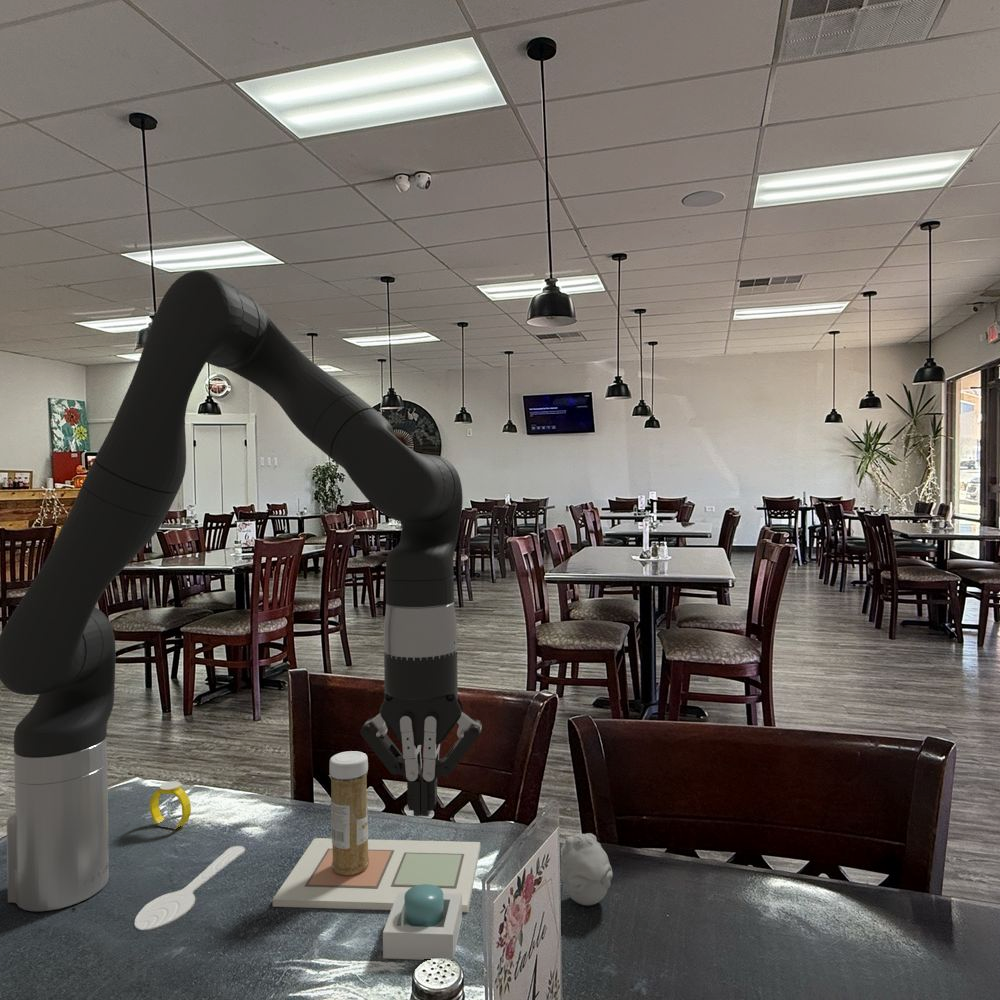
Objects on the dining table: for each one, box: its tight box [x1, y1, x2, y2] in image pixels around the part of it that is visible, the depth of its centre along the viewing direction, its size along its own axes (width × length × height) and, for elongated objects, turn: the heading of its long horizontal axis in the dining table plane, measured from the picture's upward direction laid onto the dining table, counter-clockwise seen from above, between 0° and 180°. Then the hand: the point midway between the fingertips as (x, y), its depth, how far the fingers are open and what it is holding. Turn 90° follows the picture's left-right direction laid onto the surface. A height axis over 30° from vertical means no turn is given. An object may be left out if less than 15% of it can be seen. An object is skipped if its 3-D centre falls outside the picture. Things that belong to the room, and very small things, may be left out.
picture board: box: [272, 837, 481, 913], centre depth 84 cm, size 22×14×1 cm, turn 86°
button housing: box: [382, 892, 463, 961], centre depth 72 cm, size 7×7×3 cm
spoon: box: [134, 845, 246, 931], centre depth 83 cm, size 5×18×1 cm, turn 167°
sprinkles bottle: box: [328, 750, 369, 875], centre depth 85 cm, size 5×5×14 cm
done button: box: [404, 884, 443, 927], centre depth 72 cm, size 4×4×2 cm
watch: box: [149, 780, 192, 829], centre depth 98 cm, size 6×3×6 cm, turn 72°
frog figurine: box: [560, 832, 614, 906], centre depth 79 cm, size 6×7×7 cm
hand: (422, 812), depth 72 cm, fingers closed
